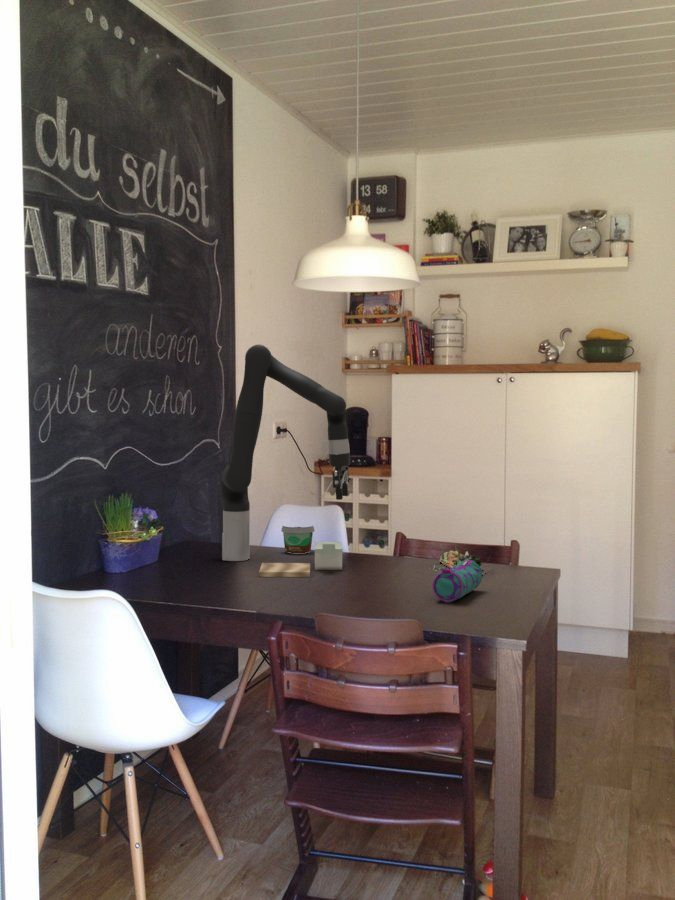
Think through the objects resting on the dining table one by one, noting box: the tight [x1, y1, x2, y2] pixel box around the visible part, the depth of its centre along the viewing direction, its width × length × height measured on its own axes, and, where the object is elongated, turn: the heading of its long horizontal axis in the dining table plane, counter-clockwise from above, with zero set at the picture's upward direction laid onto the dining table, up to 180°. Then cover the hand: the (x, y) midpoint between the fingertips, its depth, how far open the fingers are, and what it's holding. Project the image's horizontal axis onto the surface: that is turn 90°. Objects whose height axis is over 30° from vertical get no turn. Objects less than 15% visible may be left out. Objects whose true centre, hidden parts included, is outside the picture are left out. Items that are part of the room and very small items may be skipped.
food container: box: [281, 525, 316, 553], centre depth 309 cm, size 12×6×10 cm, turn 88°
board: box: [258, 562, 311, 578], centre depth 274 cm, size 16×16×2 cm
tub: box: [314, 552, 343, 571], centre depth 284 cm, size 9×12×6 cm
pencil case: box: [432, 559, 483, 603], centre depth 240 cm, size 21×9×10 cm, turn 155°
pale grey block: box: [314, 541, 343, 555], centre depth 281 cm, size 9×19×4 cm, turn 1°
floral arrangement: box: [429, 544, 483, 571], centre depth 283 cm, size 35×28×7 cm
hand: (342, 497), depth 300 cm, fingers open, 8 cm apart
